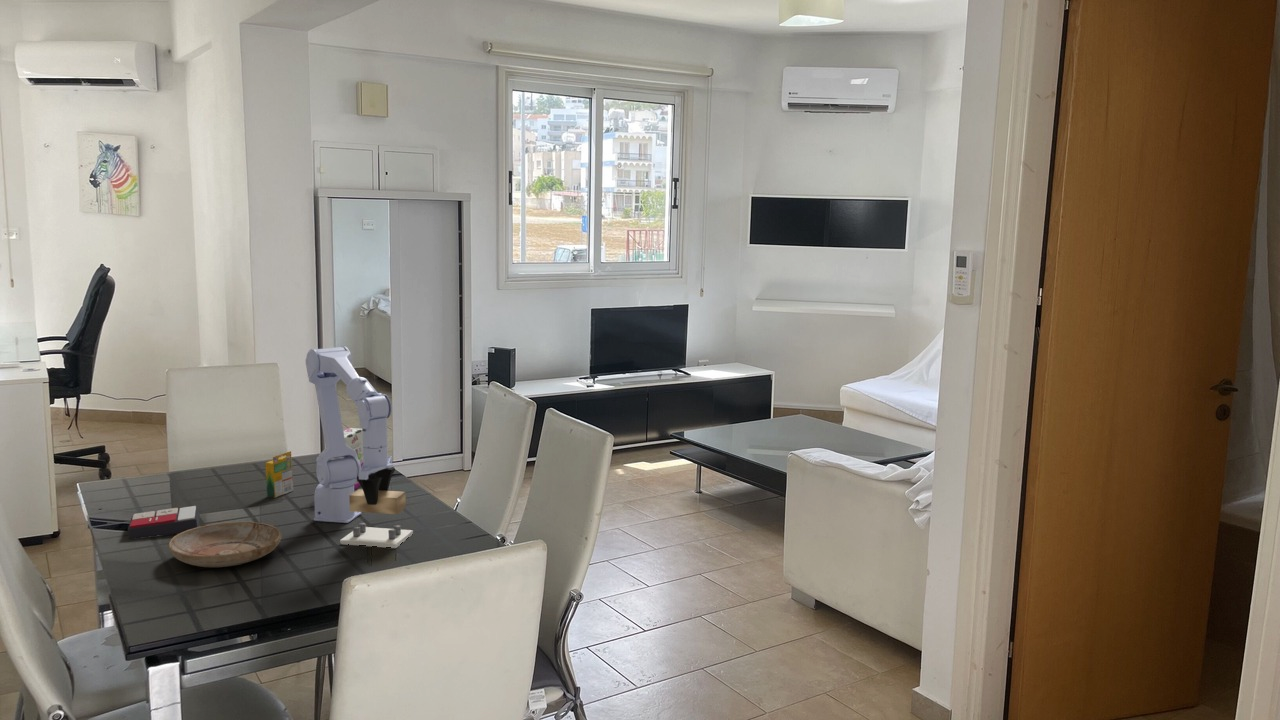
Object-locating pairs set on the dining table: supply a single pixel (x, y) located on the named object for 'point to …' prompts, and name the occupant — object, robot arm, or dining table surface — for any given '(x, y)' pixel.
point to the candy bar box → (354, 445)
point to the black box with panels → (163, 522)
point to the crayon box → (279, 475)
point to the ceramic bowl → (225, 544)
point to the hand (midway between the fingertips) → (377, 500)
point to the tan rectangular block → (378, 502)
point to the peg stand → (376, 536)
